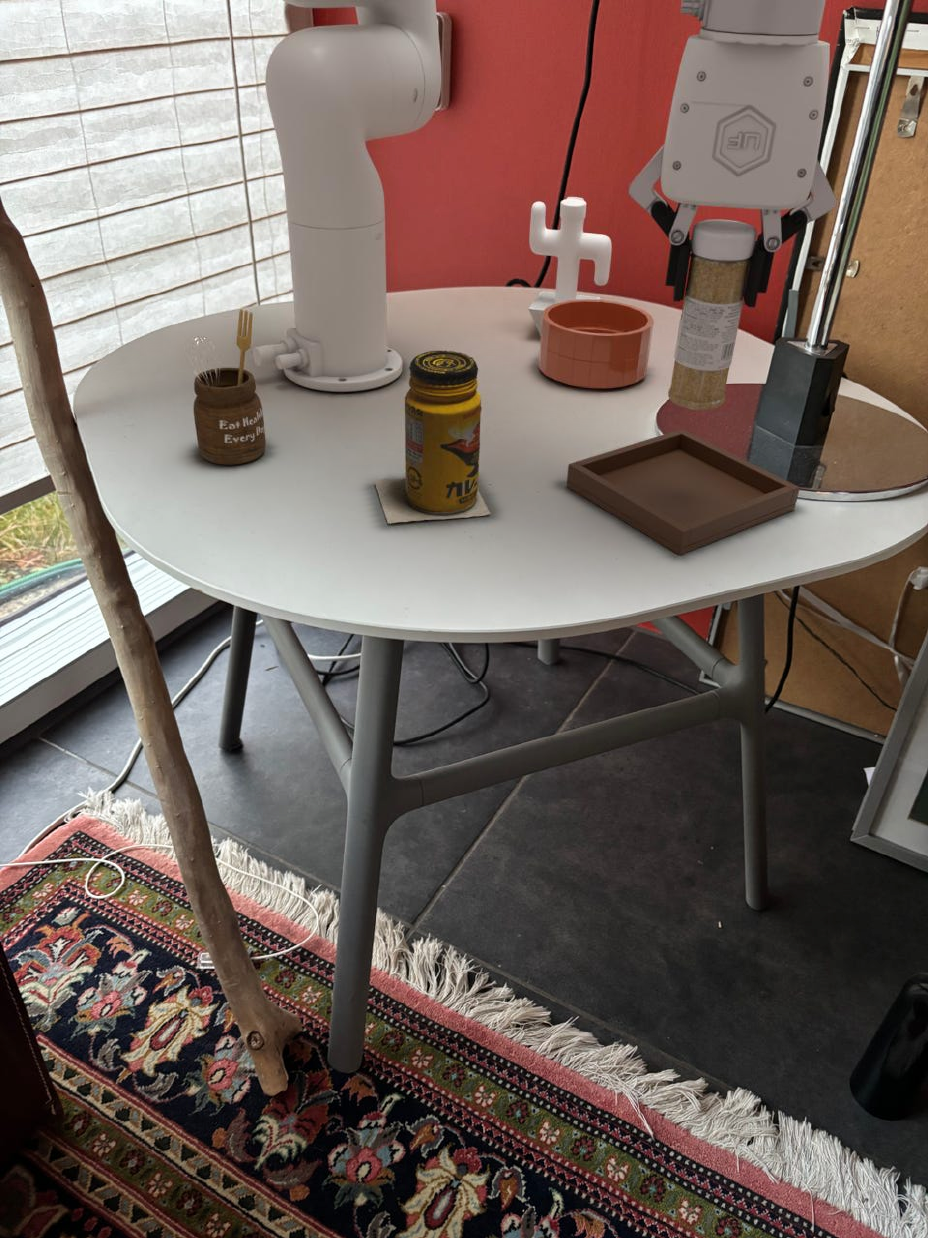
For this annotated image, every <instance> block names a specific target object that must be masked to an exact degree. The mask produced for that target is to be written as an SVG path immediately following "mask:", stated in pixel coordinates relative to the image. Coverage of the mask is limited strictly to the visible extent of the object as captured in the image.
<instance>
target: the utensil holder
mask: <svg viewBox="0 0 928 1238" xmlns="http://www.w3.org/2000/svg"><path fill="white" fill-rule="evenodd" d="M253 314H254V313H253V312H252V311H250V312H249V311H248V310H245V311H244V310H243V308H240V309H239V313H238V323H237V331H236V332H237V333H236V342H235V344H236V346H237V348H238V349H239V351H240V352H239V353H240V354H239V366H238V367H221V363H220V359H219V356H218V352H217V350H216V347H215V345H214V344H213V343H212V342H211V340H210V339H209V338H207V336H204V337H201V336H197V337H193V338H192V339H191V340H190V341H189V343H188V344H187V348H186V352H187V356H188V359H189V362H190V365H191V368H192V370H193V372H194V374H195V375H196V377H194V382H193V383H194V384H193V390H194V394H195V395H196V397H195V399H194V402H193V418H194V426H195V432H196V433H195V434H196V440H197V445H198V449H199V452H200V454H201V457H203V458H204V460H206V461H208V462H210V463H213V464H217V465H225V466H233V465H241V464H247V463H249V462H252V461H255V460H257V459H258V458H259V457H261V456H262V455H263V454H264V452H265V450H266V429H265V420H264V412H263V406H262V402H261V399H260V397H259V395H258V394H257V393H256V391H257V383H256V380H255V377H254V374H252V372H251V371H249V370H247V369H245V358H246V352H247V351H249V350H250V349H251V346H252V335H253V333H252V332H253V318H254V315H253ZM202 339H204V340H205V341H206V340H207V341H208V342H209V343H210V345H211V348H212V351H213V355H214V359H215V363H214V359H213V356H212V354H211V351H210V349H209V346H208V345H207V344H206V342H203V340H202ZM195 340H196V341H197V343H199V340H200V343H201V346H202V349H203V352H204V355H205V360H206V364H207V367H208V369H207V370H205V366H204V362H203V359H202V355H201V351H200V347H199V345H197V349H198V354H199V357H200V360H201V364H202V368H203V370H204V371H202V369H201V368H200V365H199V363H198V360H197V357H196V354H195V350H194V347H193V345H194V343H195ZM190 343H191V345H190ZM203 343H204V344H203ZM204 345H205V347H206V348H207V350H208V351H209V354H210V357H211V360H212V364H213V367H214V368H211V369H210V365H209V362H208V361H209V360H208V357H207V354H206V351H205V348H204ZM189 346H190V349H192V351H193V356H194V358H195V362H196V364H197V366H198V369H199V371H200V373H198V372H197V370H196V367H195V365H194V364H195V363H194V360H193V357H192V355H190V354H189ZM217 360H218V361H217ZM215 365H216V366H215ZM218 365H219V367H218Z"/></svg>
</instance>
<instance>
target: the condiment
mask: <svg viewBox="0 0 928 1238" xmlns="http://www.w3.org/2000/svg"><path fill="white" fill-rule="evenodd" d="M408 368H409V378H408V379H409V380H408V386H409V389H408V390H407V391H406V394H405V396H404V431H405V432H404V439H405V440H404V450H405V451H404V453H405V456H404V458H405V461H404V462H405V467H404V468H405V478H404V477H403V478H381V479H374V480H373V481H374V484H375V488H376V490H377V494H378V498H379V501H380V504H381V508H382V510H383V513H384V517H385V518H386V522H387V524H396V523H407V522H413V521H414V522H420V521H425V520H428V521H431V520H451V519H462V518H471V517H472V518H473V517H482V516H489V515H491V514H492V513H491V512H490V510H489V508H488V506H487V503H486V502H485V500H484V499H483V497H482V495H481V493H480V491H479V473H480V452H481V451H480V449H481V447H480V446H481V420H482V419H481V416H482V415H481V413H482V410H483V407H482V398H481V394H480V392H479V391H478V390H477V389H478V386H479V383H478V374H479V373H478V372H479V367H478V364H477V362H476V360H475V359H474V357H472V356H469V355H468V354H466V353H462V352H459V351H454V350H431V351H425V352H422V353H420V354H418V355H417V356H416V355H415V357H413V359H412V360H411V361H410V363H409V367H408Z"/></svg>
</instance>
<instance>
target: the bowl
mask: <svg viewBox="0 0 928 1238" xmlns="http://www.w3.org/2000/svg"><path fill="white" fill-rule="evenodd" d="M654 323H655V322H654V319H653V316H652V315H651V314H650V313H649V312H647V311H646V310H644V309H642V308H639V307H638V306H637V307H636V306H635V305H631V304H628V303H623V302H619V301H613V300H612V301H611V300H606V299H605V300H604V299H599V300H586V299H585V300H570V301H565V302H560V303H556V304H553V305H551V306H549V307H547V308H546V309H545V310H544V311H543V313H542V325H541V336H540V340H539V355H538V366H539V367H538V368H539V370H540V371H541V372H542V374H544V375H545V376H546V377H548V378H551V379H553V380H554V381H557V382H560V383H562V384H565V385H569V386H572V387H576V388H583V389H591V390H592V389H594V390H606V389H616V388H622V387H626V386H629V385H633V384H636V383H638V382H639V381H642V380H643V379H644V378H645V376H646V374H647V372H648V365H649V359H650V351H651V345H652V344H651V343H652V336H653V330H654Z"/></svg>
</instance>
